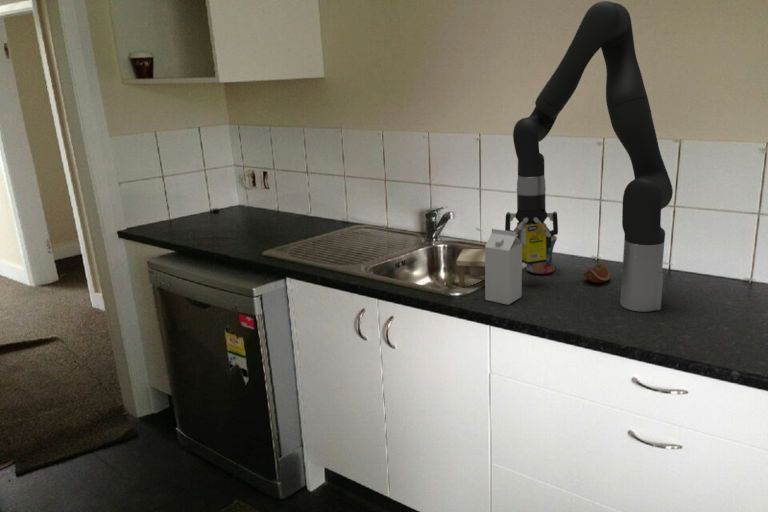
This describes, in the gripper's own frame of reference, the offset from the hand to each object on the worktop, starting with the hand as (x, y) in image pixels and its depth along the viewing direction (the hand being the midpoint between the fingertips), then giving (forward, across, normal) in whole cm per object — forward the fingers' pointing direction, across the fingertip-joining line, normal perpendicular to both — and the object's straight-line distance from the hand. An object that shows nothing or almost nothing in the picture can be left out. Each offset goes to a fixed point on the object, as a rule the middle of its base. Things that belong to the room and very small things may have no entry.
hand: (531, 249), depth 179 cm
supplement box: (+3, 0, 0) cm, 3 cm away
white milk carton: (+11, +7, +12) cm, 17 cm away
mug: (+11, -2, -14) cm, 18 cm away
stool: (+10, +15, -2) cm, 18 cm away
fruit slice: (+11, -17, -5) cm, 21 cm away
